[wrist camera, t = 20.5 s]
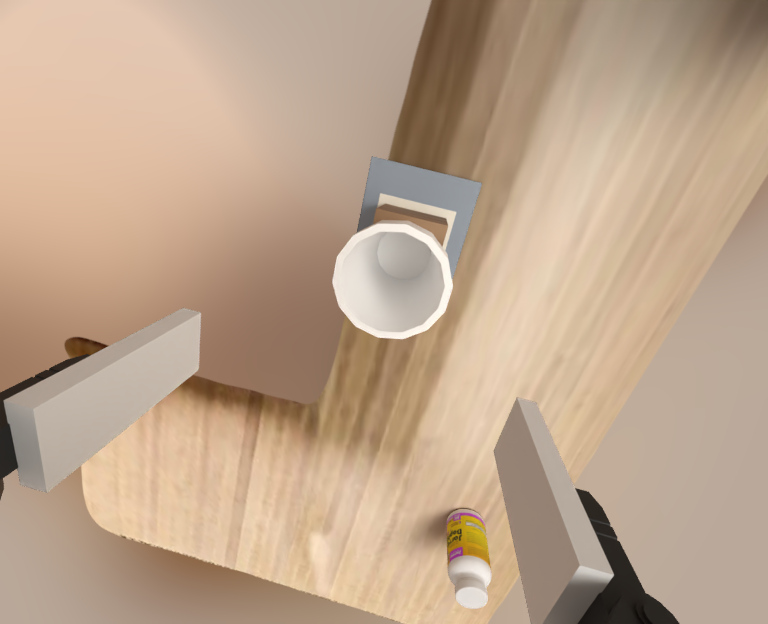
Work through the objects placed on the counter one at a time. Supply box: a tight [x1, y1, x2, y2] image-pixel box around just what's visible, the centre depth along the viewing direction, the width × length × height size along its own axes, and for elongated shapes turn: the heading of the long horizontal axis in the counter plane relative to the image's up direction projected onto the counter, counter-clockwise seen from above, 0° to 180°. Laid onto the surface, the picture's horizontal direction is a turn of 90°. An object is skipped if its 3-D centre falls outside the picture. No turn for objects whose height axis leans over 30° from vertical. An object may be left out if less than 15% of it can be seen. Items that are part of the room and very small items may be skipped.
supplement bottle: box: [447, 509, 491, 609], centre depth 59 cm, size 7×7×13 cm
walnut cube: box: [373, 204, 448, 247], centre depth 44 cm, size 8×8×8 cm
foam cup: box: [332, 220, 453, 339], centre depth 34 cm, size 10×9×13 cm
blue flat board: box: [357, 156, 482, 279], centre depth 48 cm, size 18×14×1 cm
